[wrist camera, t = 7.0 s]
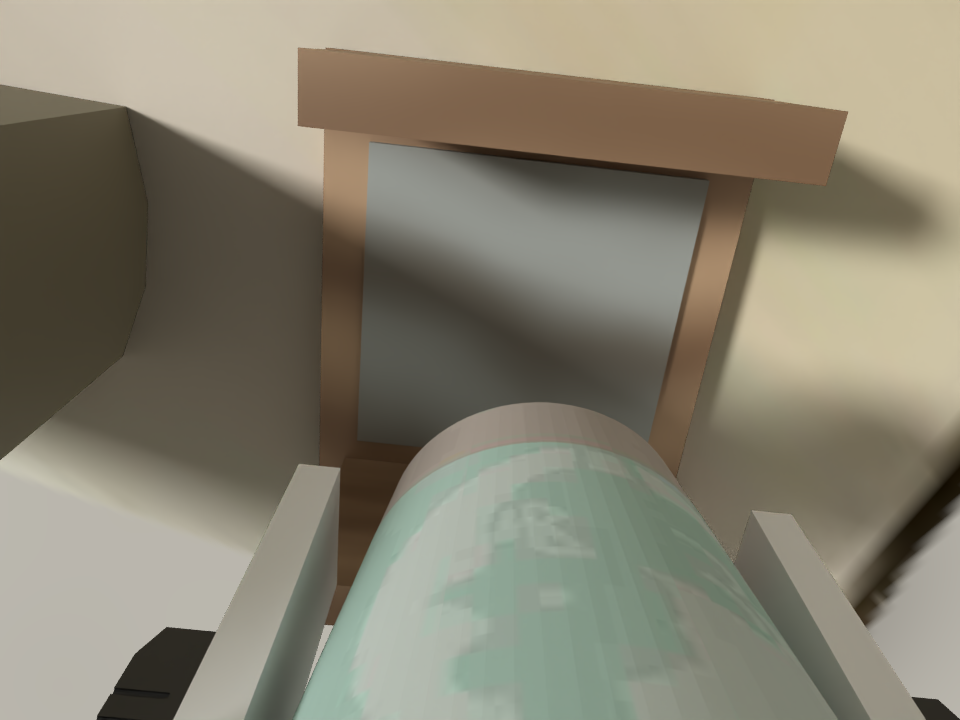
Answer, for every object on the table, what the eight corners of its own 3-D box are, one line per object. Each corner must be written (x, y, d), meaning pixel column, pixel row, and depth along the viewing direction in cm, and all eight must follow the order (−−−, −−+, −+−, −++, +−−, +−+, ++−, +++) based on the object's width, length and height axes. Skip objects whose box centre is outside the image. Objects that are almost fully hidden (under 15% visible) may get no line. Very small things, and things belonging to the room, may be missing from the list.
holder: (334, 48, 22) (251, 41, 15) (760, 98, 23) (893, 116, 15) (325, 472, 29) (265, 619, 21) (657, 506, 29) (714, 662, 22)
